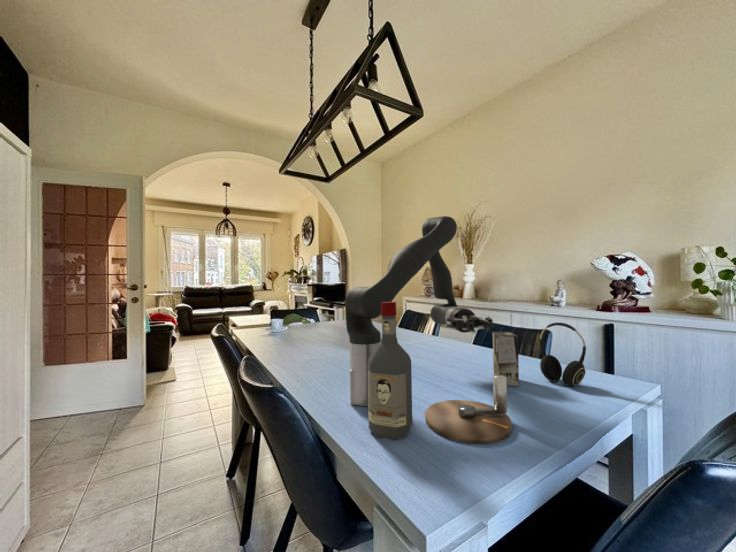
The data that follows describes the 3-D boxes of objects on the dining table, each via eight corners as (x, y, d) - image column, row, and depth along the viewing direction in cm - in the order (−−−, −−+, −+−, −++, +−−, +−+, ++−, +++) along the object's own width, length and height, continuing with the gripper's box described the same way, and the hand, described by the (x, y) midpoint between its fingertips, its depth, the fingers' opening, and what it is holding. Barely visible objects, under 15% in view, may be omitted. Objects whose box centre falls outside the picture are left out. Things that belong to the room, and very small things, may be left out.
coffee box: (519, 386, 100) (518, 336, 100) (498, 385, 101) (497, 335, 101) (512, 377, 109) (511, 331, 109) (493, 376, 110) (492, 331, 110)
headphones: (548, 375, 111) (546, 319, 111) (594, 387, 97) (592, 324, 98) (532, 379, 106) (531, 321, 107) (579, 392, 93) (577, 326, 94)
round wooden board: (437, 446, 65) (437, 437, 65) (417, 406, 85) (417, 400, 85) (529, 441, 66) (529, 433, 66) (488, 404, 86) (488, 397, 86)
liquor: (379, 418, 79) (376, 300, 79) (414, 423, 76) (411, 301, 76) (365, 435, 70) (363, 303, 71) (404, 442, 67) (402, 304, 67)
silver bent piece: (461, 418, 74) (460, 380, 74) (456, 411, 78) (455, 375, 78) (510, 416, 74) (509, 378, 75) (502, 409, 78) (501, 373, 79)
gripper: (438, 307, 100) (455, 313, 83) (481, 306, 101) (507, 312, 84) (438, 331, 100) (456, 341, 83) (481, 329, 101) (507, 340, 84)
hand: (481, 327), depth 84 cm, fingers open, 4 cm apart
